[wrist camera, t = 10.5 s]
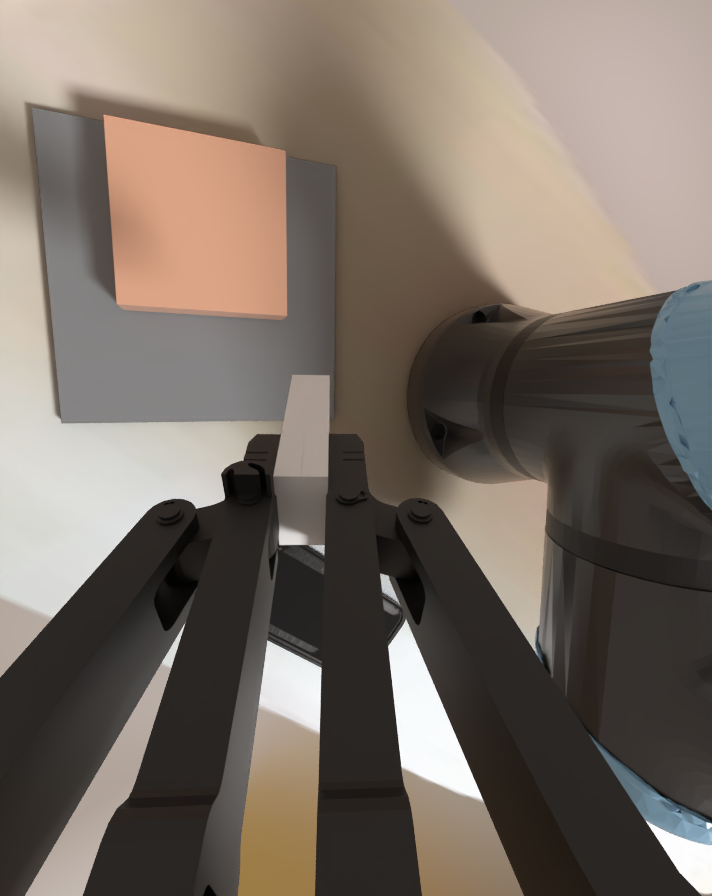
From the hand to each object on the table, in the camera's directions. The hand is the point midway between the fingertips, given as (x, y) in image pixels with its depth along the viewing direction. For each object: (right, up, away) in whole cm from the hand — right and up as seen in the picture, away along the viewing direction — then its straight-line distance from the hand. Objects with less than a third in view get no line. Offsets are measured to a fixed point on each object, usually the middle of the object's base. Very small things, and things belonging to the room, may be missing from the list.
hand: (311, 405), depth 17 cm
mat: (-8, +9, +11) cm, 17 cm away
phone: (-2, -15, +18) cm, 24 cm away
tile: (-8, +7, +10) cm, 14 cm away
